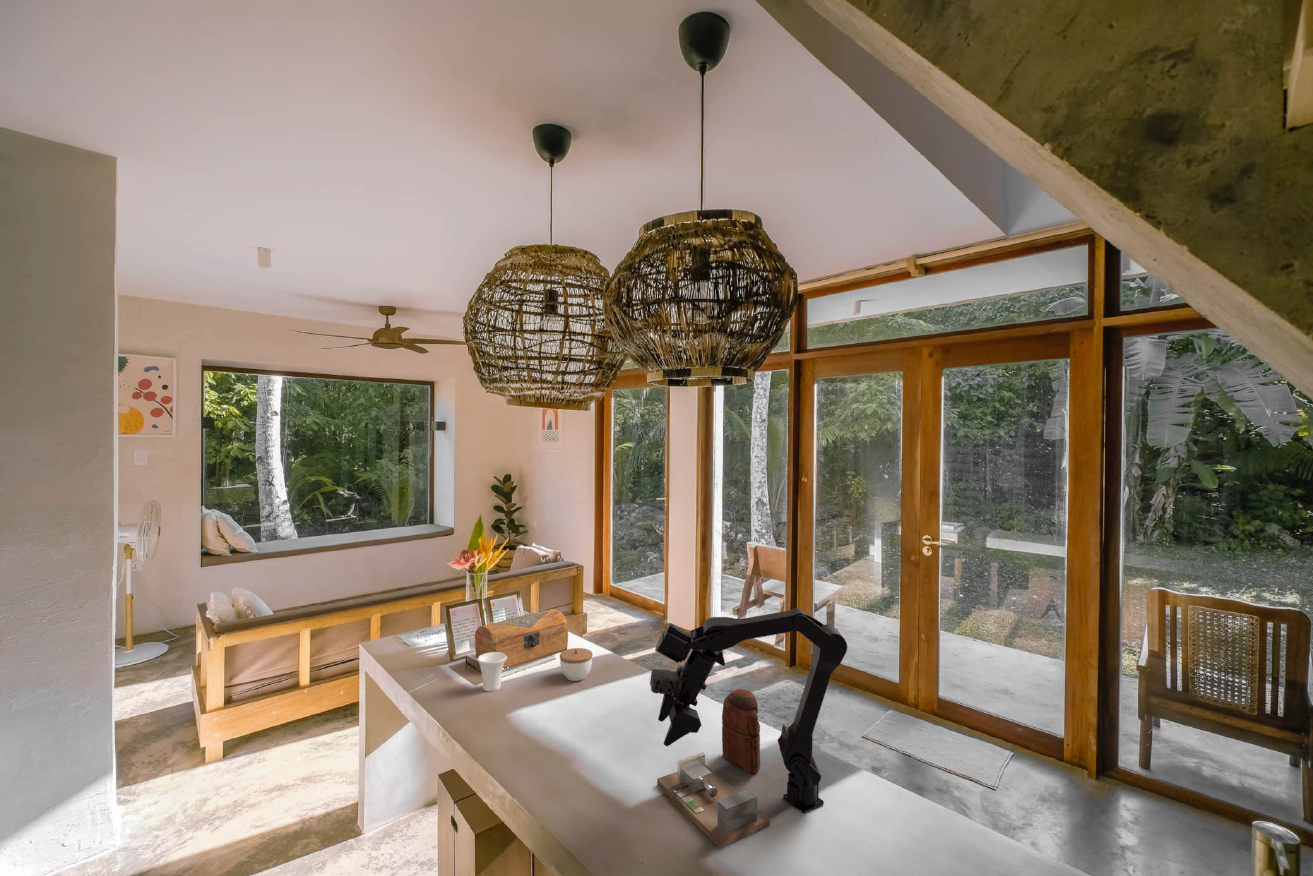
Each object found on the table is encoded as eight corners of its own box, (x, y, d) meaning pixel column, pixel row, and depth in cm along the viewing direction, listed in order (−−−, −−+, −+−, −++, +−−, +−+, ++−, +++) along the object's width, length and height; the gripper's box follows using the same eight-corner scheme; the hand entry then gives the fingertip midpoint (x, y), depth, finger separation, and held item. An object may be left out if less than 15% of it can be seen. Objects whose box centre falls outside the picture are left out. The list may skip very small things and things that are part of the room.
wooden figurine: (769, 767, 145) (769, 694, 145) (753, 777, 141) (753, 702, 140) (732, 748, 154) (732, 679, 154) (715, 757, 150) (716, 686, 149)
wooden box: (496, 674, 199) (496, 633, 199) (474, 660, 211) (473, 621, 211) (570, 651, 219) (570, 614, 219) (546, 639, 232) (546, 604, 231)
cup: (500, 694, 184) (500, 662, 184) (472, 692, 185) (472, 660, 185) (512, 682, 192) (512, 652, 192) (485, 680, 194) (485, 650, 194)
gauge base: (703, 768, 144) (703, 742, 144) (769, 826, 124) (769, 795, 124) (657, 785, 138) (657, 757, 138) (719, 848, 117) (719, 816, 117)
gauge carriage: (702, 773, 139) (702, 752, 139) (726, 794, 132) (726, 772, 131) (668, 785, 135) (668, 763, 135) (691, 808, 127) (691, 785, 127)
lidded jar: (553, 676, 197) (553, 648, 197) (580, 667, 204) (580, 640, 204) (571, 687, 189) (571, 657, 189) (598, 677, 197) (598, 649, 196)
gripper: (658, 639, 140) (627, 696, 141) (669, 678, 122) (634, 744, 122) (699, 657, 142) (668, 714, 142) (716, 699, 124) (681, 764, 124)
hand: (662, 732), depth 133 cm, fingers open, 9 cm apart
